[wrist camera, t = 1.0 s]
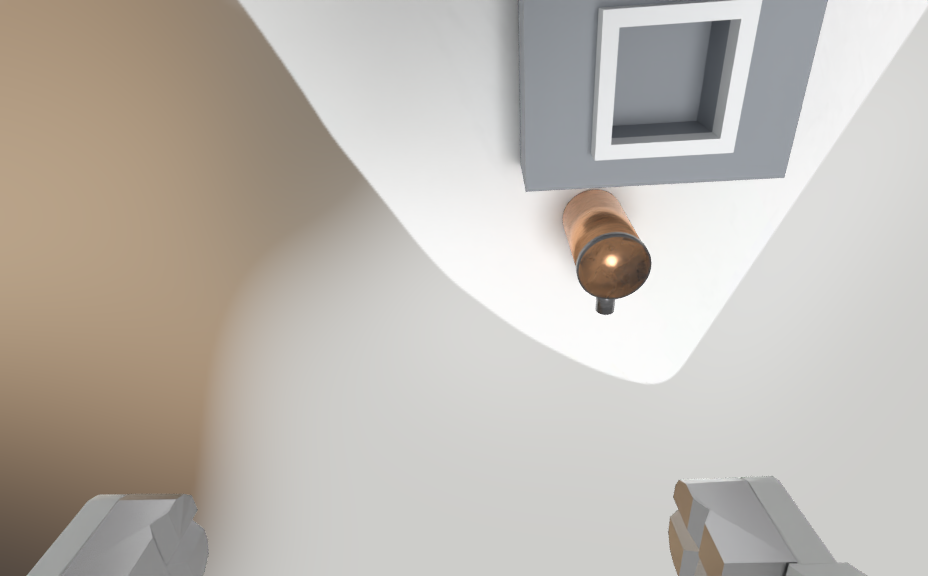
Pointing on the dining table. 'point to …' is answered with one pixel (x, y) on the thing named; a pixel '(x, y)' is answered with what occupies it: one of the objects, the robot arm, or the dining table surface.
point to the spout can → (605, 248)
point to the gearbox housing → (661, 89)
